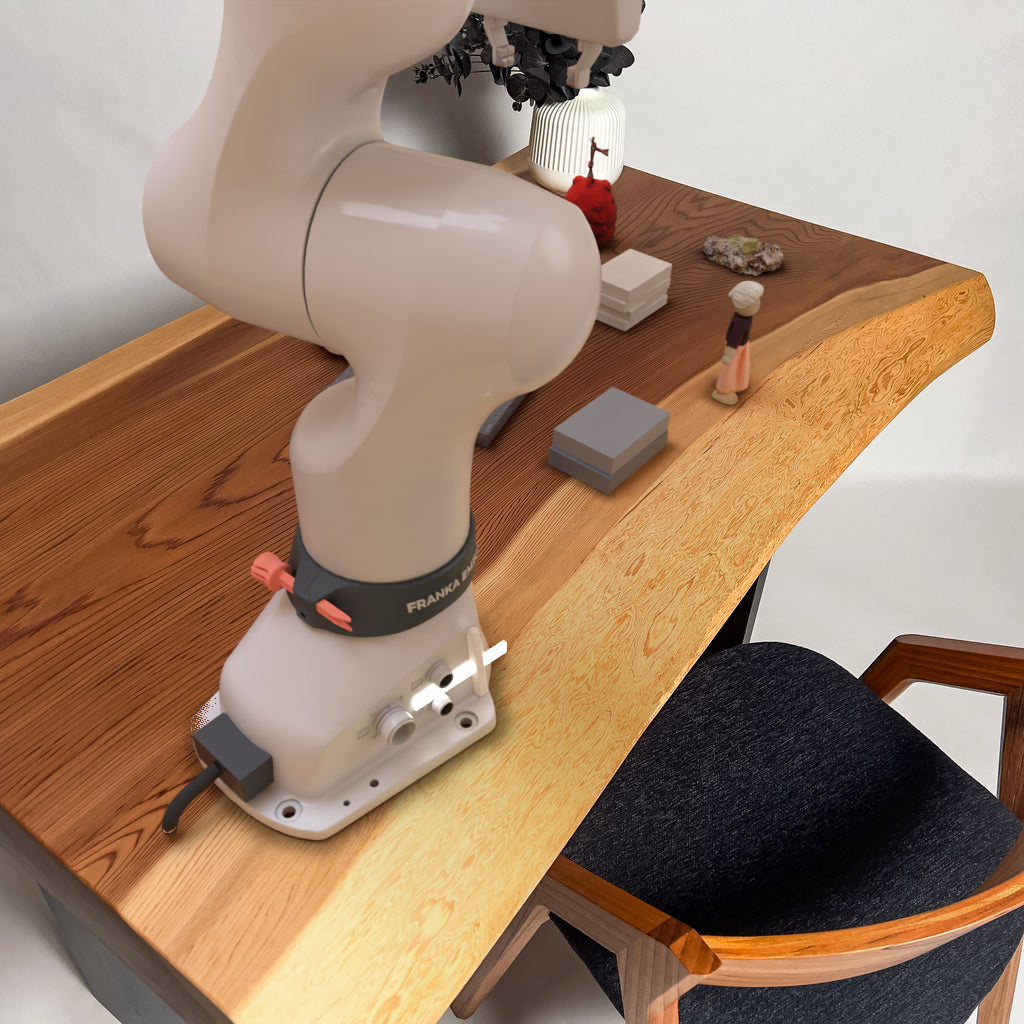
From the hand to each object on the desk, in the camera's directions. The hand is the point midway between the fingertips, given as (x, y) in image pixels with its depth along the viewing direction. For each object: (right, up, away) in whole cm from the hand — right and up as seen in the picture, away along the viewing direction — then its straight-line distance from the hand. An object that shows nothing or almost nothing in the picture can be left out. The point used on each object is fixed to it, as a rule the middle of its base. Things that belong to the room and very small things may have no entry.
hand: (539, 75), depth 96 cm
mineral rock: (+27, -11, +30) cm, 42 cm away
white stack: (+11, -19, +19) cm, 29 cm away
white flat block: (+11, -17, +17) cm, 26 cm away
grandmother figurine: (+20, -31, +7) cm, 37 cm away
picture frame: (-11, -31, +5) cm, 33 cm away
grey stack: (+7, -38, -3) cm, 39 cm away
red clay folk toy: (+7, -8, +32) cm, 34 cm away
